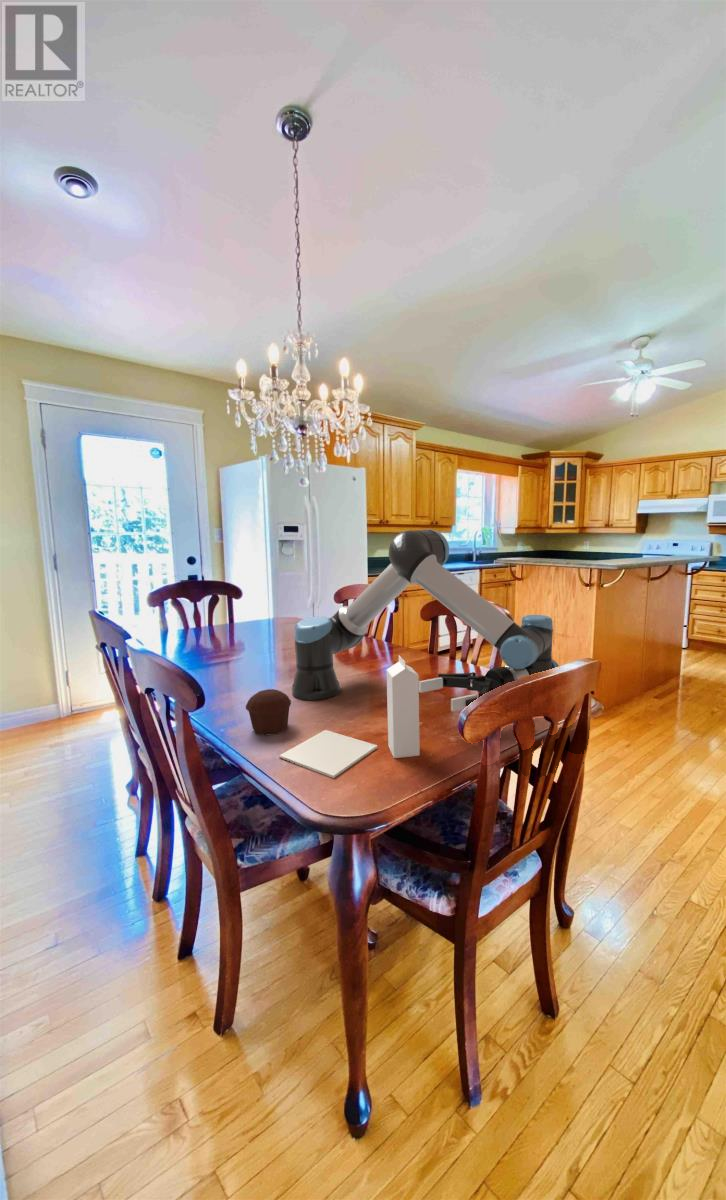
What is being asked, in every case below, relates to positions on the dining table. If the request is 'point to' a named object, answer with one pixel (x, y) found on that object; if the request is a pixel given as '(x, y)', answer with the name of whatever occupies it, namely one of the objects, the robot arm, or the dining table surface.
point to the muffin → (269, 711)
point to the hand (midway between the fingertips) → (434, 695)
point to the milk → (403, 710)
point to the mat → (328, 753)
